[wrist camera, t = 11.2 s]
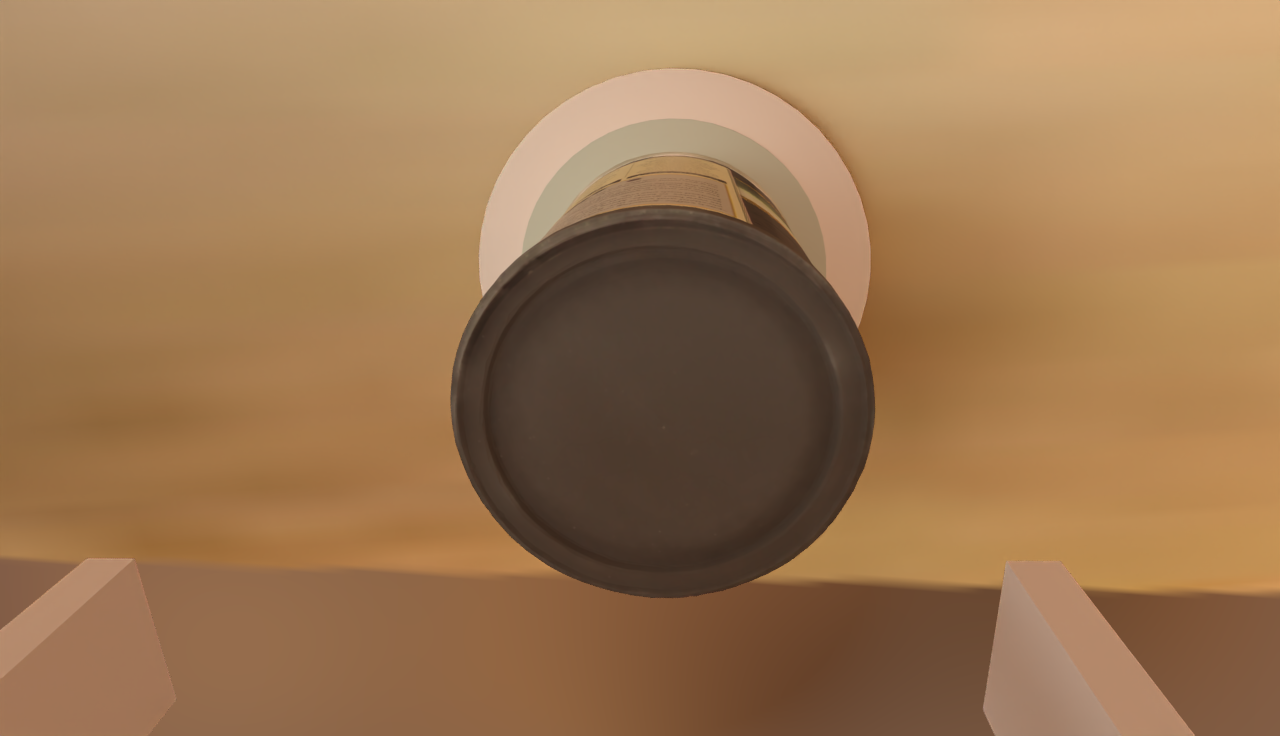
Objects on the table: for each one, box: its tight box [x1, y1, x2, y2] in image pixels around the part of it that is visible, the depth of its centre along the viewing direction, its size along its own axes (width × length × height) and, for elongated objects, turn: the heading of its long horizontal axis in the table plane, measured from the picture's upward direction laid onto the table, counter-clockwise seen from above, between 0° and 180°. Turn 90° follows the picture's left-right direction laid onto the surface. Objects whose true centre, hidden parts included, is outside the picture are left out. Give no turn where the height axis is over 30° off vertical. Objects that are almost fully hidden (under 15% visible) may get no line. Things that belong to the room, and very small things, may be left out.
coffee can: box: [451, 152, 875, 598], centre depth 26 cm, size 10×10×14 cm
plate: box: [479, 68, 871, 328], centre depth 33 cm, size 16×16×1 cm
